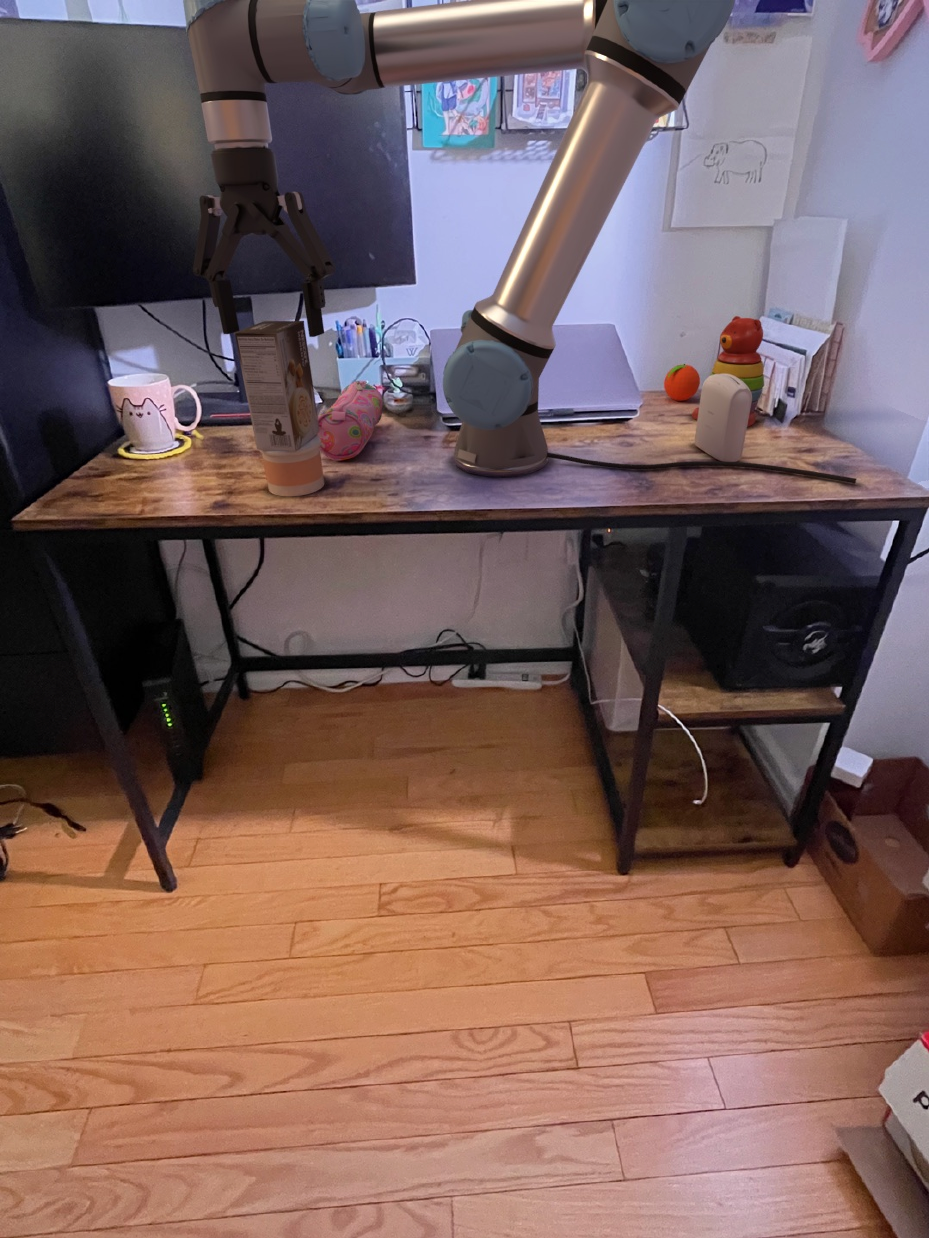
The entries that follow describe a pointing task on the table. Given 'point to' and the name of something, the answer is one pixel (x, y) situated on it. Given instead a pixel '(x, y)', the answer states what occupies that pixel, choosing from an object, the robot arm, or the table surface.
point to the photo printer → (723, 417)
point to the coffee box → (278, 384)
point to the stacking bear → (742, 357)
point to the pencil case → (350, 421)
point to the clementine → (681, 382)
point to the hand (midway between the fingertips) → (273, 334)
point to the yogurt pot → (294, 469)
